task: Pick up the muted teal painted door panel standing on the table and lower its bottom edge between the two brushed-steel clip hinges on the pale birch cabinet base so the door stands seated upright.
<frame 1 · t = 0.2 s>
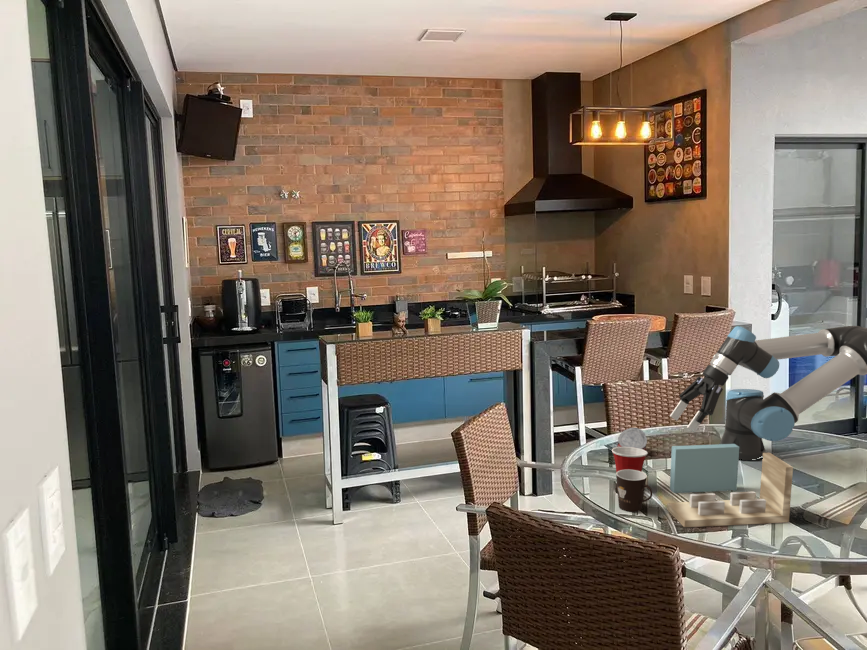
hand: (681, 424, 242), 16 cm above the table, tool tilted 35°, fingers open, 13 cm apart
plastic cup: (628, 487, 232), on the table
canned food: (631, 454, 262), on the table
door: (703, 490, 229), on the table
coffee mug: (631, 510, 214), on the table
hinge base: (726, 515, 210), on the table
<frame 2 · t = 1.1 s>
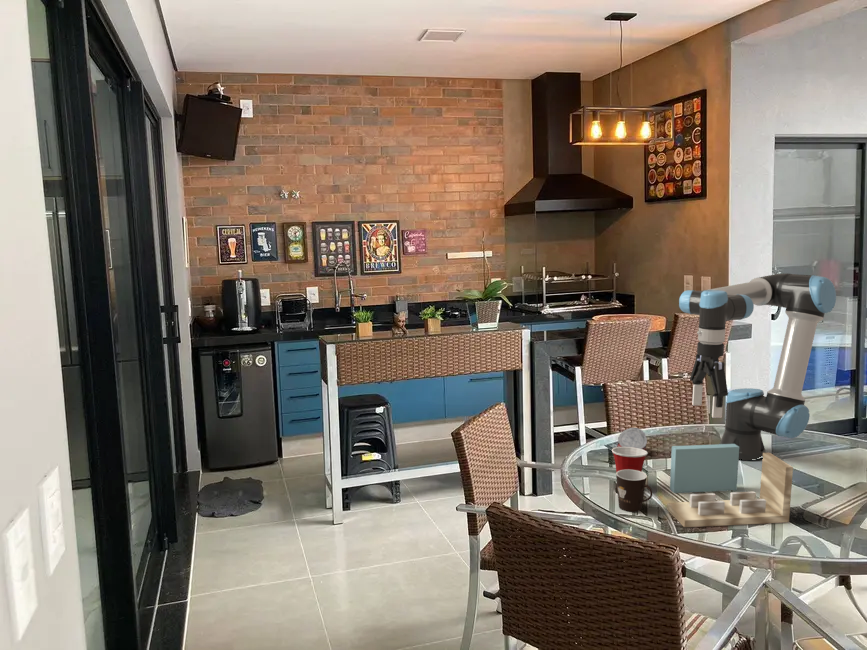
hand: (706, 411, 225), 25 cm above the table, tool pointing down, fingers open, 13 cm apart
nothing on the table moved.
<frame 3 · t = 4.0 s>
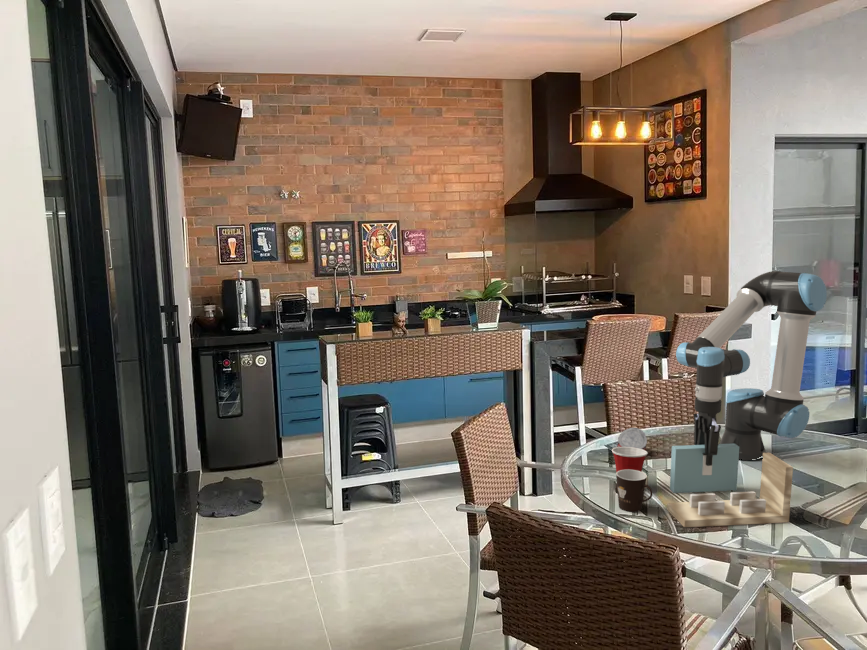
hand: (704, 472, 228), 6 cm above the table, tool pointing down, fingers closed on door, 3 cm apart
door: (703, 489, 229), on the table, touching gripper
everything else where it was.
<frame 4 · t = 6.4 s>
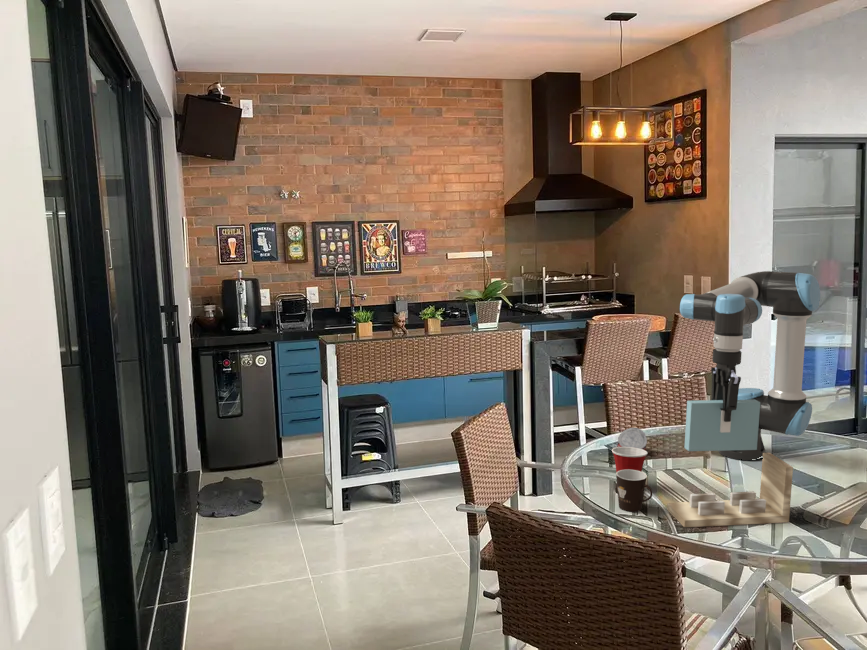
hand: (721, 429, 212), 23 cm above the table, tool pointing down, fingers closed on door, 3 cm apart
door: (720, 448, 213), point 18 cm above the table, touching gripper
everything else where it was.
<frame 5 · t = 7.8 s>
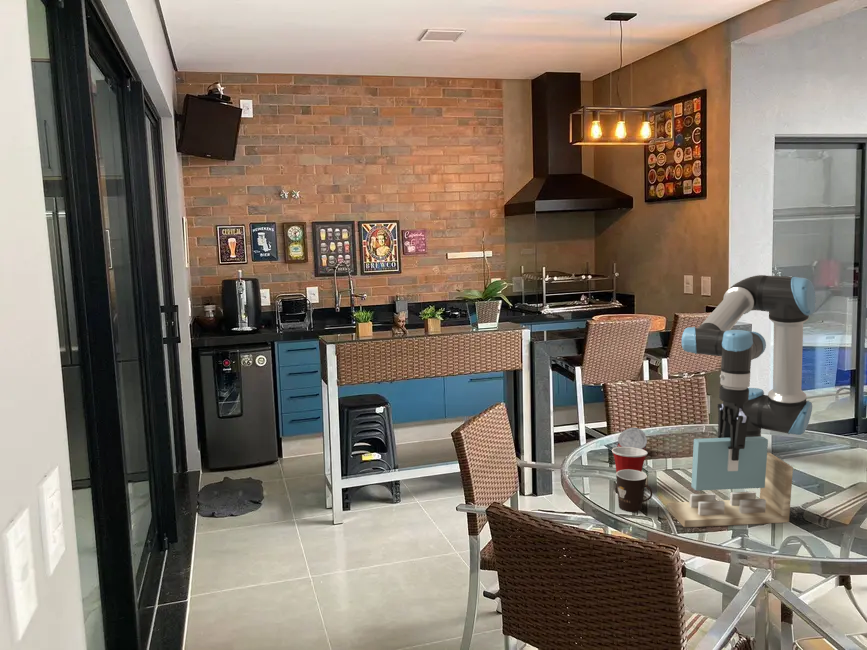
hand: (729, 468, 207), 14 cm above the table, tool pointing down, fingers closed on door, 3 cm apart
door: (727, 487, 208), point 9 cm above the table, touching gripper
everything else where it was.
when the fingers open (9 cm above the table, at t = 9.0 s): door drops 1 cm, resting on hinge base.
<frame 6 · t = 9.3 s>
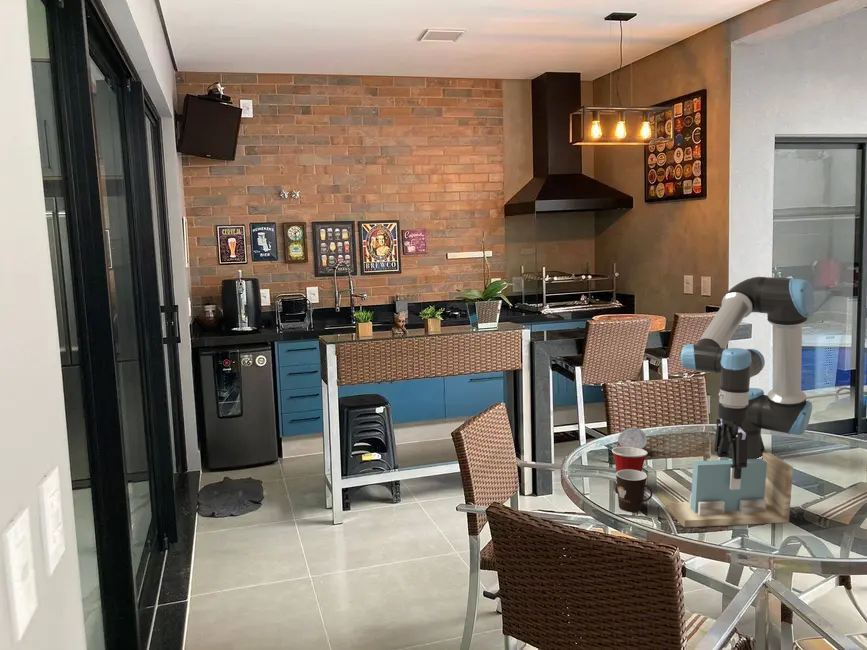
hand: (728, 483, 208), 9 cm above the table, tool pointing down, fingers open, 7 cm apart
door: (726, 508, 210), point 2 cm above the table, touching hinge base
everything else where it was.
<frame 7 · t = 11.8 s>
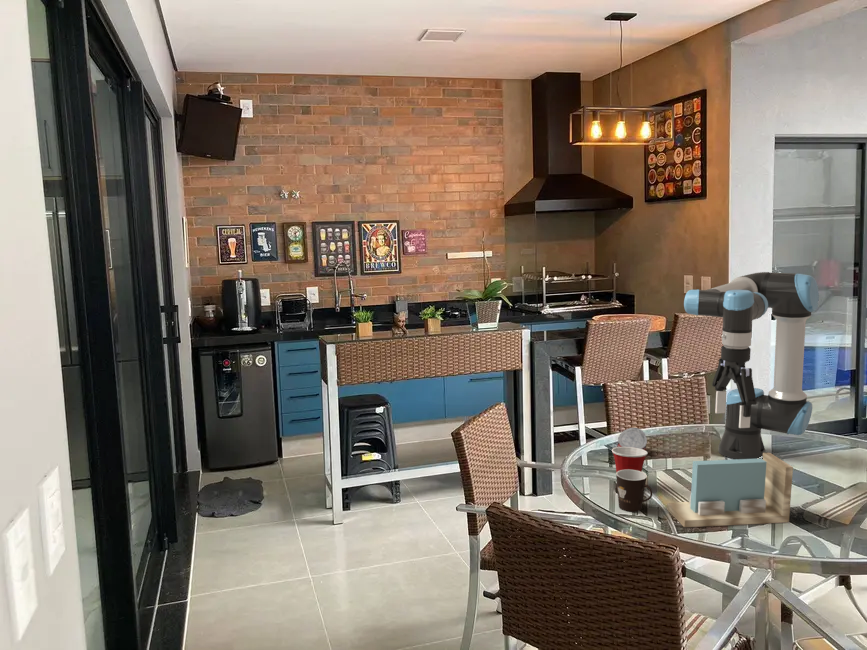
hand: (731, 420, 209), 27 cm above the table, tool pointing down, fingers open, 13 cm apart
nothing on the table moved.
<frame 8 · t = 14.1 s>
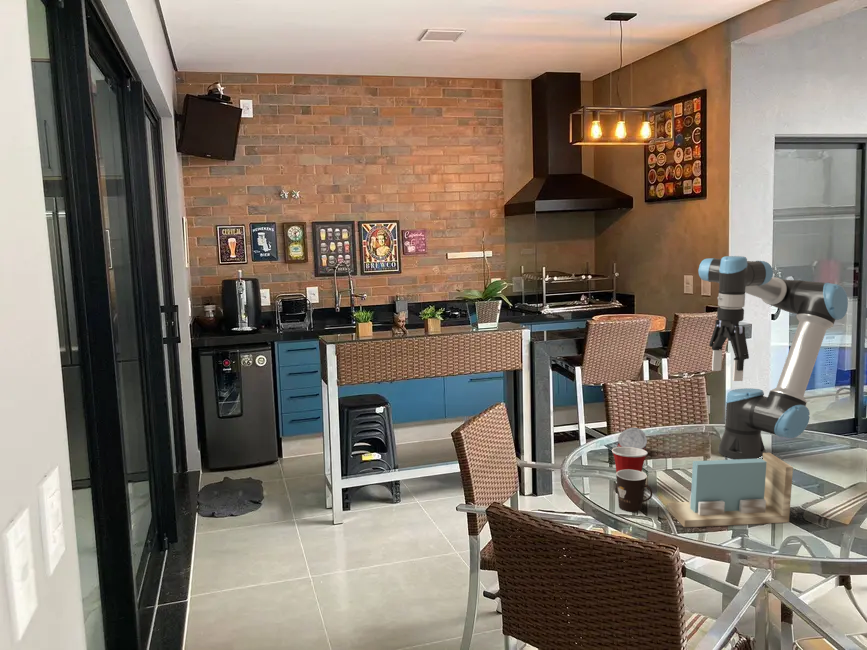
hand: (726, 375, 229), 35 cm above the table, tool pointing down, fingers open, 13 cm apart
nothing on the table moved.
at the end: door inside the target area on the hinge base (0.1 cm from its centre), point 2.0 cm above the hinge base's base; door tilted 0°; the gripper is holding nothing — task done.
